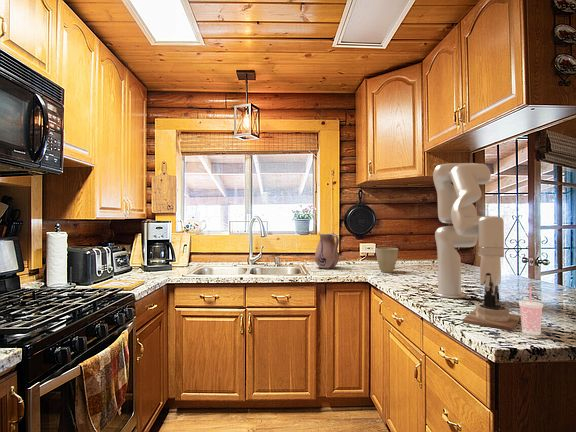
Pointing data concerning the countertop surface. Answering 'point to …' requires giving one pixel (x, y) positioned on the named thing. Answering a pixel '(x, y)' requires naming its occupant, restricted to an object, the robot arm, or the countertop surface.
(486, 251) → the robot arm
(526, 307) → the beverage cup
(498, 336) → the countertop surface
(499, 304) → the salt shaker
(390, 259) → the plant pot
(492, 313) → the board
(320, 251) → the ceramic pitcher
